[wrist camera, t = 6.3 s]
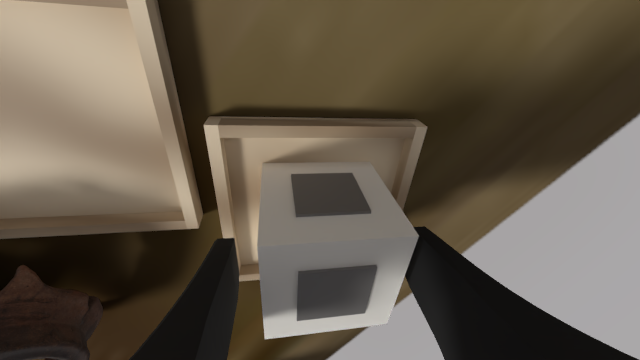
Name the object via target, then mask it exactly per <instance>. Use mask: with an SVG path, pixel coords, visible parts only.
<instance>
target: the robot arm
mask: <svg viewBox="0 0 640 360" xmlns="http://www.w3.org/2000/svg"><path fill="white" fill-rule="evenodd" d="M413 228H414V229H415V231H416V232H417V234H418V235H419V237H418V240H417V243H416V246H415V249H414V251H413V254H412V257H411V260H410V262H409V265H408V268H407V271H406V274H405V276H406V279H407V282H408V284H409V286H410V288H411V290H412V292H413V294H414V296H415V298H416V300H417V302H418V304H419V306H420V308H421V310H422V312H423V314H424V316H425V318H426V320H427V322H428V324H429V326H430V328H431V330H432V332H433V334H434V336H435V338H436V340H437V342H438V345H439V347H440V349H441V352H442V354H443V357H444V359H445V360H638V359H636V358H634V357H631V356H629V355H627V354H625V353H623V352H621V351H619V350H617V349H615V348H613V347H610V346H609V345H607V344H604V343H603V342H601V341H599V340H596V339H594V338H592V337H590V336H589V335H587V334H585V333H583V332H581V331H579V330H577V329H575V328H573V327H571V326H570V325H568V324H566V323H564V322H562V321H561V320H559V319H557V318H555V317H553V316H552V315H550V314H548V313H546V312H545V311H543V310H541V309H539V308H537V307H536V306H534V305H533V304H531V303H530V302H528V301H526V300H525V299H523V298H522V297H520V296H518V295H517V294H515V293H514V292H512V291H511V290H509V289H508V288H506V287H504V286H503V285H502V284H500V283H499V282H497V281H496V280H494V279H493V278H492V277H490V276H489V275H487V274H486V273H485V272H483V271H482V270H481V269H479V268H478V267H476V266H475V265H474V264H472V263H471V262H470V261H468V260H467V259H466V258H464V257H463V256H462V255H461V254H459V253H458V252H457V251H456V250H454V249H453V248H452V247H450V246H449V245H448V244H447V243H445V242H444V241H443V240H442V239H440V238H439V237H438V236H437V235H435V234H434V233H433V232H431V231H430V230H429V229H427V228H426V227H413ZM239 275H240V273H239V266H238V259H237V252H236V245H235V238H222V239H217V240H216V241H215V242H214V244H213V246H212V247H211V249H210V251H209V253H208V254H207V256H206V258H205V259H204V261H203V263H202V264H201V266H200V268H199V269H198V271H197V272H196V274H195V275H194V277H193V278H192V280H191V281H190V283H189V284H188V286H187V287H186V289H185V290H184V292H183V293H182V295H181V296H180V297H179V299H178V300H177V301H176V303H175V304H174V305H173V307H172V308H171V309H170V311H169V312H168V313H167V315H166V316H165V317H164V319H163V320H162V321H161V323H160V324H159V325H158V326H157V328H156V329H155V330H154V331H153V332H152V334H151V335H150V336H149V337H148V338H147V340H146V341H145V342H144V343H143V344H142V346H141V347H140V348H139V349H138V350H137V351H136V353H135V354H134V355H133V356H132V357H131V358H130V359H129V360H227V355H228V350H229V344H230V339H231V334H232V328H233V323H234V317H235V312H236V306H237V300H238V289H239Z"/></svg>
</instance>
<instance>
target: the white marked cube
mask: <svg viewBox="0 0 640 360" xmlns="http://www.w3.org/2000/svg"><path fill="white" fill-rule="evenodd" d="M418 237H419V235H418V234H417V232H416V231H415V229H414V228H413V226H412V225H411V223H410V222H409V220H408V219H407V217H406V216H405V214H404V212H403V211H402V209H401V208H400V206H399V205H398V203H397V202H396V200H395V199H394V197H393V196H392V194H391V193H390V191H389V190H388V188H387V187H386V185H385V184H384V182H383V181H382V179H381V178H380V176H379V175H378V173H377V172H376V170H375V169H374V167H373V166H372V164H371V163H370V162H302V163H262V175H261V192H260V208H259V225H258V241H257V251H258V263H259V275H260V287H261V299H262V311H263V323H264V335H265V339H271V338H279V337H287V336H295V335H304V334H312V333H320V332H328V331H336V330H344V329H352V328H360V327H368V326H376V325H384V324H387V323H388V321H389V318H390V315H391V312H392V310H393V307H394V304H395V301H396V298H397V296H398V293H399V290H400V287H401V285H402V282H403V279H404V276H405V274H406V271H407V268H408V265H409V262H410V260H411V257H412V254H413V251H414V249H415V246H416V243H417V240H418Z"/></svg>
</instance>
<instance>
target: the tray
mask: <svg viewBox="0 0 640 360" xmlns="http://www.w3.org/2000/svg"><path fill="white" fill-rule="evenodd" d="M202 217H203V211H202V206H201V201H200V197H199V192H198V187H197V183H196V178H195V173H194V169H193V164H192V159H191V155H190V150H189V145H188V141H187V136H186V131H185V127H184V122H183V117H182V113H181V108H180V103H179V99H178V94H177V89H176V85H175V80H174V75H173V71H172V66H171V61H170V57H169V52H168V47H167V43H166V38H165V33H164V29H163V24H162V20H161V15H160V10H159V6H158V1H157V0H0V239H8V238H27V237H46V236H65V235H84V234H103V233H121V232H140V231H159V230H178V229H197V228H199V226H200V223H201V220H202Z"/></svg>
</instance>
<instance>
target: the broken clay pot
mask: <svg viewBox="0 0 640 360" xmlns="http://www.w3.org/2000/svg"><path fill="white" fill-rule="evenodd" d="M102 314H103V307H102V305H101V303H100V300H99V298H97V297H94V296H88V295H87V294H86V293H83V292H80V291H77V290H73V289H70V290H66V289H60V288H53V287H51V286H48V285H46V284H45V283H43V282H42V281H41V280H40V278H39V276H38V275H37V274H36V273H35V272H34V271H32V270H31V269H30V268H28V267H27V266H25V265H21V266H19V267H18V268H17V271H16V274H15V276H14V277H13V279H12V280H11V281H10V282H9V283H8V284H7V286H6V287H5V288H4V289H3V290H1V291H0V360H31V359H43V358H45V360H89V357H90V353H89V350H88V348H87V343H86V341H87V340H88V339H89V338H90V336H91V335H92V333H93V332H94V330H95V328H96V327H97V325H98V324H99V321H100V320H101V317H102Z"/></svg>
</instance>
